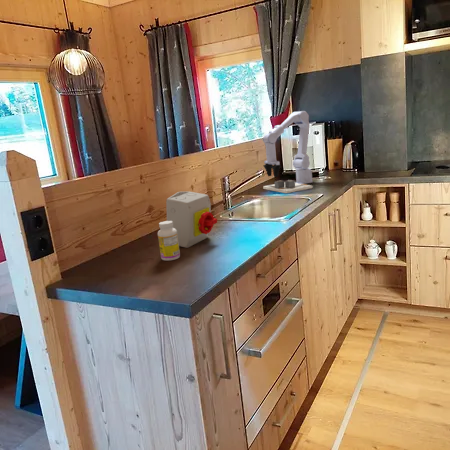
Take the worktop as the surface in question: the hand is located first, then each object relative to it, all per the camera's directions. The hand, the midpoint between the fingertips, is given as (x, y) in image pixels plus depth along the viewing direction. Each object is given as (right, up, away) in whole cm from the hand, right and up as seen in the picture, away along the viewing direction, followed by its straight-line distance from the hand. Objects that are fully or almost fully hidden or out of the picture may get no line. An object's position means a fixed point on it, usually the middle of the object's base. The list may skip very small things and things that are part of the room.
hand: (272, 176), depth 261 cm
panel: (+9, -7, -1) cm, 11 cm away
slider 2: (+9, -7, -8) cm, 14 cm away
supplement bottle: (-48, -41, -111) cm, 127 cm away
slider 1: (+4, -7, -5) cm, 9 cm away
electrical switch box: (-40, -36, -95) cm, 109 cm away
